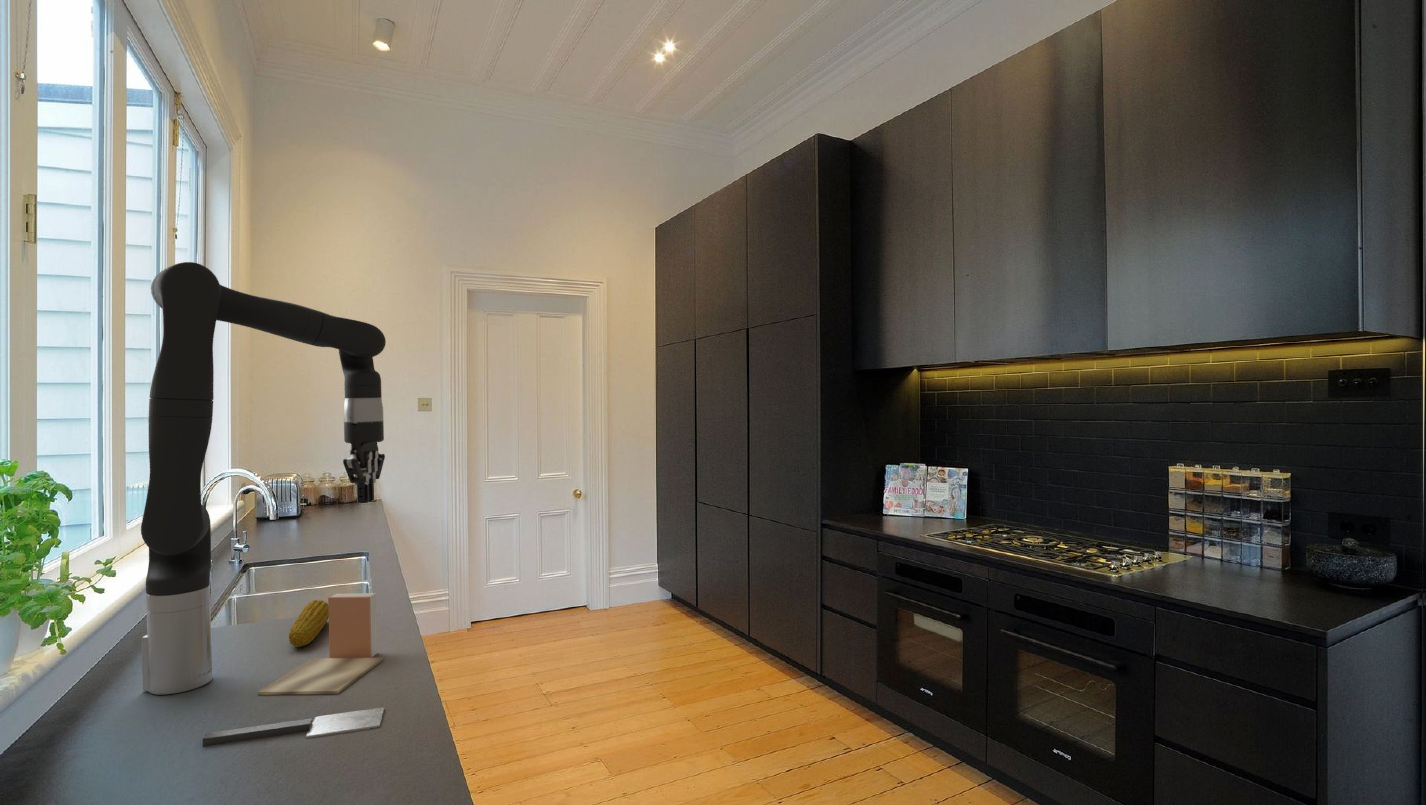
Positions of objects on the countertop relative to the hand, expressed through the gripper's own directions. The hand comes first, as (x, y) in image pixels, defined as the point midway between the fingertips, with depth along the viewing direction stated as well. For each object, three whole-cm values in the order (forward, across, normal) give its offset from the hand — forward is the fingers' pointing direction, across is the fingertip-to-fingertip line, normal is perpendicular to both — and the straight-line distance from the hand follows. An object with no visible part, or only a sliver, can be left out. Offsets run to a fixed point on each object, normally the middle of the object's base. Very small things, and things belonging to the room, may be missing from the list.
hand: (365, 501), depth 154 cm
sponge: (+29, +10, +2) cm, 31 cm away
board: (+29, +20, +2) cm, 36 cm away
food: (+29, -3, -14) cm, 33 cm away
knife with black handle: (+29, +42, +10) cm, 52 cm away
